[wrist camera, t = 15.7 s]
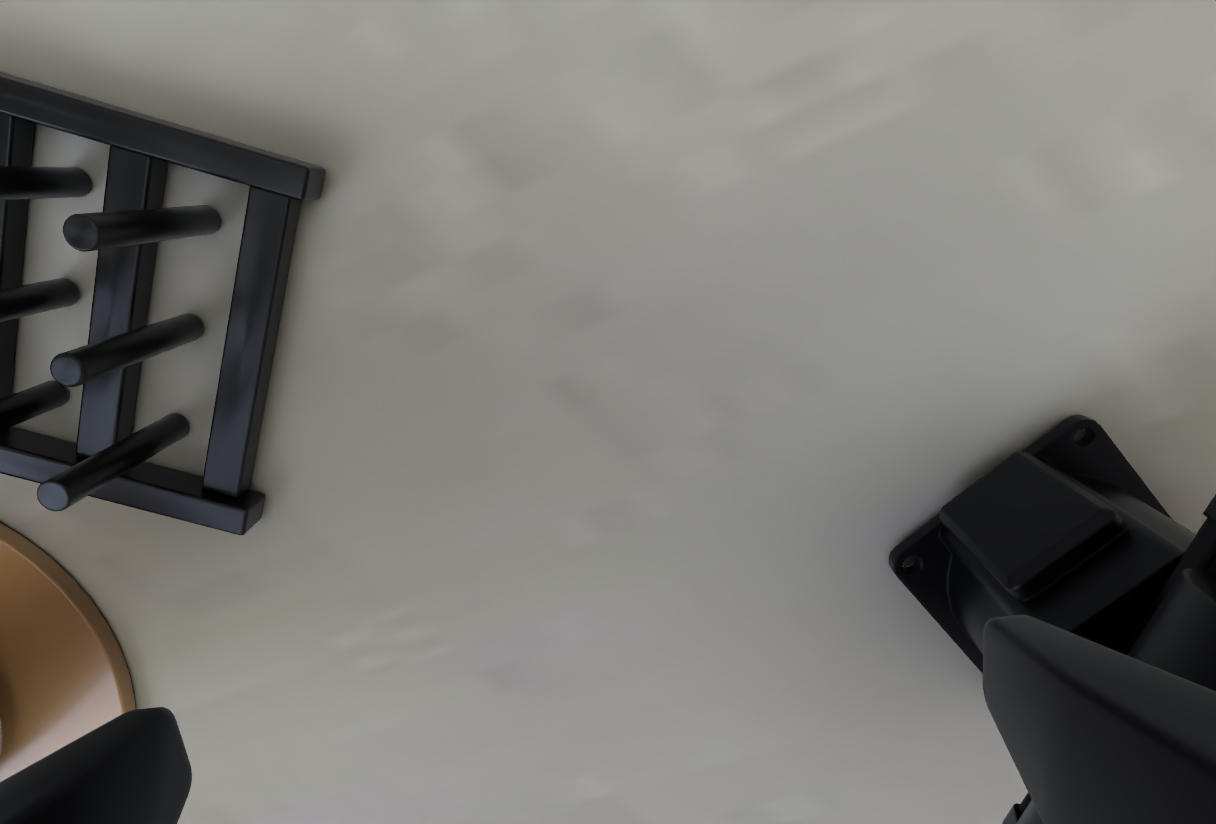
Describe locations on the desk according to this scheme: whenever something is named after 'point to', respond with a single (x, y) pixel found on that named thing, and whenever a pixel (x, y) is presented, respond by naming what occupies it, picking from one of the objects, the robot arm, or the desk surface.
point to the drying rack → (140, 307)
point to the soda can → (0, 738)
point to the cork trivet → (51, 658)
